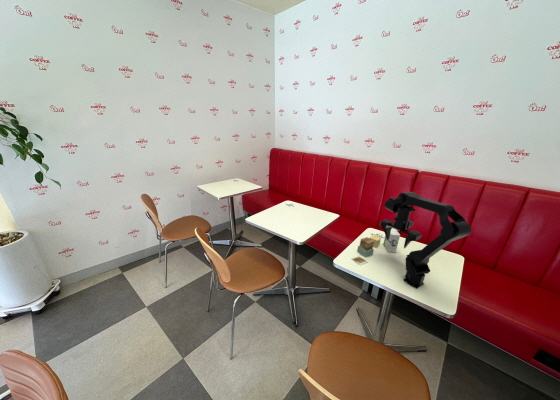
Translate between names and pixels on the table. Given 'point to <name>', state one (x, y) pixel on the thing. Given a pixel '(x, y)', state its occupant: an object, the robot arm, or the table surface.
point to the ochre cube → (375, 240)
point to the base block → (365, 252)
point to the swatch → (359, 260)
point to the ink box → (392, 241)
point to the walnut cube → (366, 243)
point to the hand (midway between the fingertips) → (396, 243)
